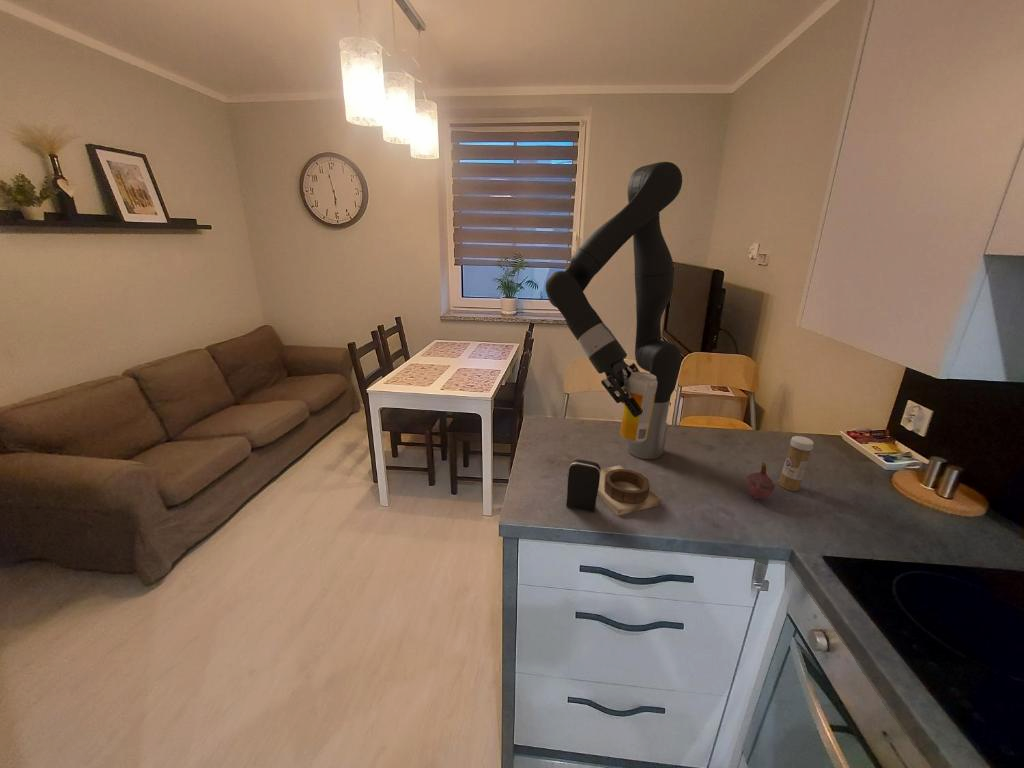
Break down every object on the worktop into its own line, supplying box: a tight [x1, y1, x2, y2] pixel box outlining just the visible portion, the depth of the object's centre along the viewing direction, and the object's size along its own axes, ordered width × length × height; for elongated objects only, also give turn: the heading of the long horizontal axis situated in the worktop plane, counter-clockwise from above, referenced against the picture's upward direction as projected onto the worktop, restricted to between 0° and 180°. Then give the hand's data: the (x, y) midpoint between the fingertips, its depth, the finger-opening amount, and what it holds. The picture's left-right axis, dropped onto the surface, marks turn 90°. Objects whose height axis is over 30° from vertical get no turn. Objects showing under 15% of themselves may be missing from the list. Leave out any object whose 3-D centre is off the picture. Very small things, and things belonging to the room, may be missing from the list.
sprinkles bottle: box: [778, 435, 815, 492], centre depth 102 cm, size 5×5×14 cm
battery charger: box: [565, 458, 602, 513], centre depth 92 cm, size 7×4×11 cm, turn 71°
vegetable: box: [745, 461, 775, 500], centre depth 97 cm, size 6×6×10 cm
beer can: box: [619, 371, 658, 443], centre depth 90 cm, size 6×6×15 cm
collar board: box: [597, 464, 662, 516], centre depth 99 cm, size 12×16×4 cm
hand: (644, 410), depth 89 cm, fingers closed on beer can, 6 cm apart
